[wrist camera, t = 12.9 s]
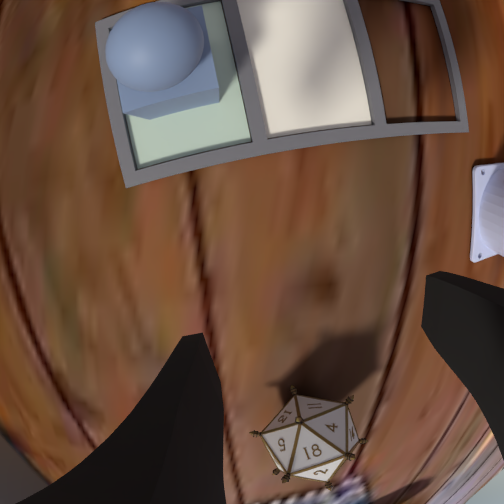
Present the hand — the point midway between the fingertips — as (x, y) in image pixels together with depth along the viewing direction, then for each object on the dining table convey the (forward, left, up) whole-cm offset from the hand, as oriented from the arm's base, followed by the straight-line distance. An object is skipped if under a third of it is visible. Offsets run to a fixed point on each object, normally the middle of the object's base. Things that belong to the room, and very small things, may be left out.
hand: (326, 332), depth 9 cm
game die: (0, +16, -11) cm, 19 cm away
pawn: (+4, -10, -10) cm, 15 cm away
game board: (-4, -10, -10) cm, 15 cm away
